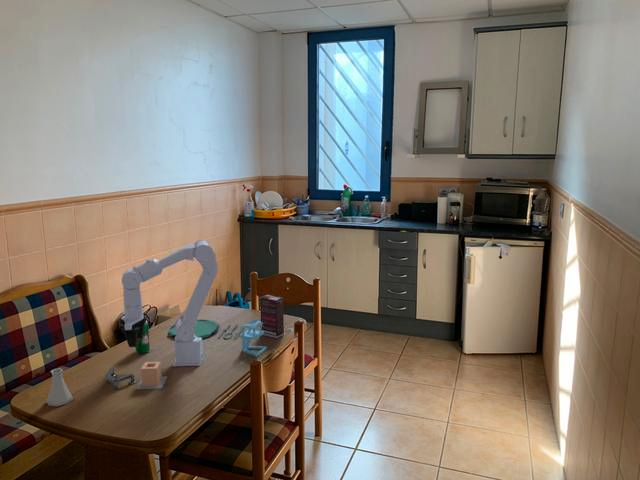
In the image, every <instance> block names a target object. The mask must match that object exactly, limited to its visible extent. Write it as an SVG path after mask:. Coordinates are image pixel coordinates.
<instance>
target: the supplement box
mask: <svg viewBox="0 0 640 480" xmlns="http://www.w3.org/2000/svg"><path fill="white" fill-rule="evenodd" d="M259 298H260V299H259V302H260V303H259V305H260V307H259V308H260V322H262V323H263V324H262V328H261V330H262V331H263V332H264V334H263V335H262V336H267V337H271V338H275V339H279V338H281V337H283V336H284V335H285V331H284V330H285V329H284V327H285V323H284V320H285V319H284V297H281V296H275V295H270V294H265V295H262V296H260V297H259Z"/></svg>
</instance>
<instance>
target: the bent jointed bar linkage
mask: <svg viewBox="0 0 640 480" xmlns="http://www.w3.org/2000/svg"><path fill="white" fill-rule="evenodd" d="M116 377H117V373H115V368H114V367H110V368H109V370H107V372H106V373H105V376H104V378H105V384H106V385H109V384H110V383H111V382H112V383H113V389H114V390H118V389H119V383H121V382H124V381H127V380H129V379H130V380H129V381H128V384H129V385H134V384H136V383H137V382H138V381H137V380H136V378H135V374H133V373H128V374H125V375H123V376H120V377H118V378H116Z"/></svg>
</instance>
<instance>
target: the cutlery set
mask: <svg viewBox="0 0 640 480" xmlns="http://www.w3.org/2000/svg"><path fill="white" fill-rule="evenodd" d="M244 325H245V324H243V325H242V326H244ZM238 326H239V325H238V324H234V327H233V328H232V329H231V331H230V332H228V333H226V332H227V331H228V329H229V327H231V324H228V326H227V327H225V328H224V329H223V330H222V332H221V333H219V335H218V337H217V339H218V340H219V339H220V338H221V337H222V336H223V338H224V339H227V340H228V339H231V338H232V340H233V341H234V340H238V339H239V337H240V335H241V334H242V329H241V328H240V330H239V331H238V332H236V333H235V334H234V336H233V332H234V331H235V330H236V328H238ZM219 328H220V324H219V322H216V321H215V320H210V319H209V320H207V319H197V323H196V326H195V335H196V337H200V338H202V339H206V338H209V337H210V336H211V335H213V334H214V333H216V332H217V331H218V330H219ZM243 329H245V328H243ZM167 333H168V335H169V337H170V338H171V337H173V336H174V337H175V336H176V328H175V324H173V325H171V326H170V328H169V330H168V332H167ZM225 333H226V334H225ZM227 336H230V337H227ZM226 337H227V338H226Z"/></svg>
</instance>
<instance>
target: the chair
mask: <svg viewBox="0 0 640 480" xmlns="http://www.w3.org/2000/svg"><path fill="white" fill-rule="evenodd" d="M247 322H248V323H247V324H243V325H244V326H243V325H240V330H241V329H242V332H241V333H240V336H239V337H240V338H241V350H240V351H241V352H243V353H246V354H247V355H250V356H252V357H253V356H254V357H256V358H257V357H259V356H260V355H261V354H263V353H264V352H265V351H266V350H267V348H268V347H267V346H263V345H250V344H251V341H252V340H254V341H256V340H257V339H258V338H259V337H261V336H264V335H263V334H264V332H263V331H262V330H261V328H262V324H263V323H262V322H261V320H259V319H258V320H257V319H253V320H250V321H247ZM243 328H244V329H245V328H247V330H246V331H245V330H244V329H243ZM257 328H259V330H257ZM252 350H259V351H258V352H254V351H252Z"/></svg>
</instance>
